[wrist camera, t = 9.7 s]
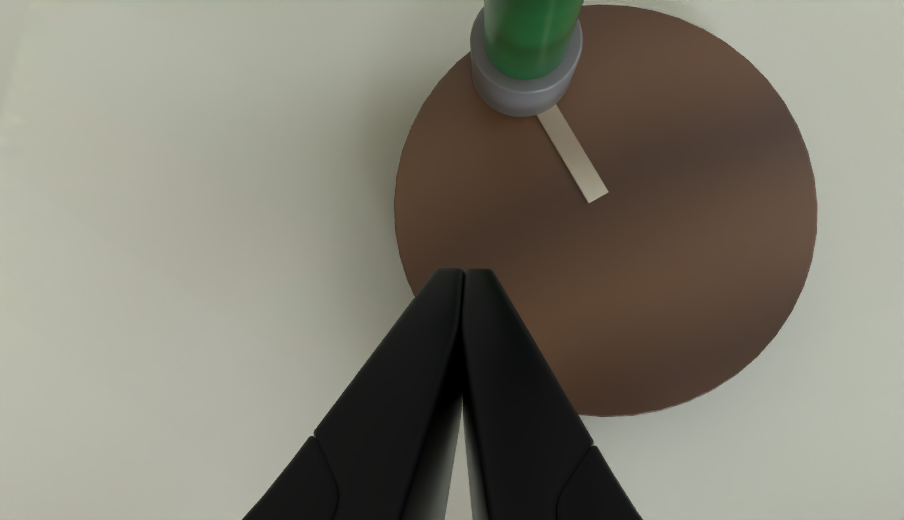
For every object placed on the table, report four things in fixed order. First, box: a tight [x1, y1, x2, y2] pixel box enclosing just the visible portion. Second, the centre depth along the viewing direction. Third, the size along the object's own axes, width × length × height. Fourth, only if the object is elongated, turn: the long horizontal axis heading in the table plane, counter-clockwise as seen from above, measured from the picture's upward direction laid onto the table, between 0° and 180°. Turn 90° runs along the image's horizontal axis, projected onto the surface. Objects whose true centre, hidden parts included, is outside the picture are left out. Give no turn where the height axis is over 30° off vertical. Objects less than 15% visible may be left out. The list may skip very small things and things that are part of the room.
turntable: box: [394, 0, 817, 417], centre depth 13 cm, size 13×13×11 cm
